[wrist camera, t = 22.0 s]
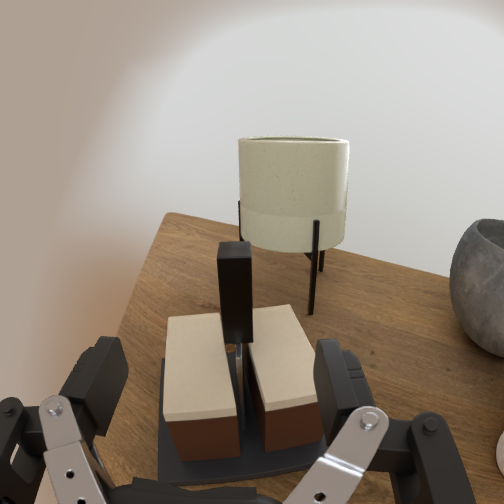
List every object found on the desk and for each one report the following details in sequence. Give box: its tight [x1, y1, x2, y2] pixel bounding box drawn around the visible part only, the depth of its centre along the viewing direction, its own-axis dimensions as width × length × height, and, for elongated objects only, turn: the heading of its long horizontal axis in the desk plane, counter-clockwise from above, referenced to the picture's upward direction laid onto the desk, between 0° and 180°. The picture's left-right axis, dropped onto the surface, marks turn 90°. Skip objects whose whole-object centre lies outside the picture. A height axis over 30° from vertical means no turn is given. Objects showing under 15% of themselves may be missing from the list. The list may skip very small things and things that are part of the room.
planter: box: [238, 136, 349, 315], centre depth 46 cm, size 15×16×23 cm
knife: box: [217, 241, 254, 430], centre depth 25 cm, size 2×6×16 cm, turn 2°
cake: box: [158, 304, 330, 486], centre depth 27 cm, size 16×16×8 cm
